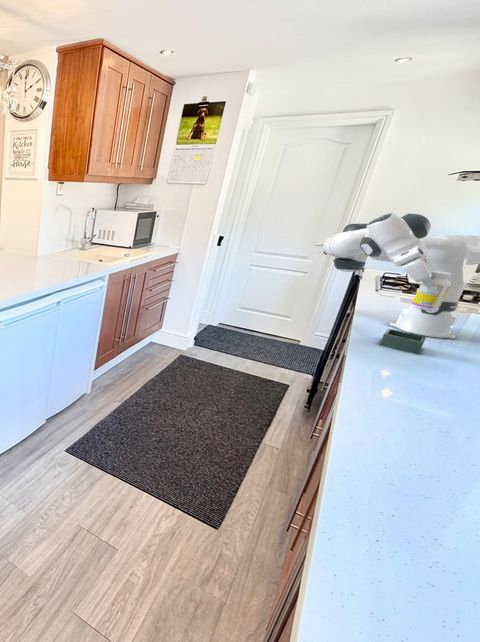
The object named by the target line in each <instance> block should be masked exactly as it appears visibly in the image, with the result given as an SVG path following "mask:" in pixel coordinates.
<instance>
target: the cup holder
mask: <svg viewBox="0 0 480 642" xmlns="http://www.w3.org/2000/svg"><path fill="white" fill-rule="evenodd" d="M426 339H427V336H424V335H419V334H415V333H411V332H407V331H403V330H398V329H397V330H396V329H392V328H387V329H386V330H385V332H384V333H383V335H382V337H381V340H380V342H379V344H378V345H379V346H382V347H386V348H390V349H394V350H399V351H402V352H406V353H409V354H415V355H419V353H420V351H421V349H422V347H423V345H424V343H425V340H426Z"/></svg>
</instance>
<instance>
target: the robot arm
mask: <svg viewBox="0 0 480 642" xmlns="http://www.w3.org/2000/svg"><path fill="white" fill-rule="evenodd" d="M431 226H432V225H431V222H430V220H429V218H427V217H426V216H424V215H422V214H418V213H406V214H404V215H403V216H401V217H399V216H398V215H397V214H396V213H386V214H383V215H381V216H379V217H375V218H374V219H373V220H371V221H369V222H364V221H359V222H353V223H349V224H347V225H346V226H345V227H344V229H343V230H342V231H341V232H339V233H336V234H334V235H331V236H329V237H328V238H327V239H326V240H325V241H324V242H323V251H324V252H325V254H327V255H329V256H331V257H334V258H333V260H332V262H333V265H334V267H335V269H336V270H339V271H341V272H345V273H353V272H357V271H361V270H362V269H364V267H365V265H366V261H367V259H368V257H370V258H371V259H373V260H375V261H381V262H386V263H392V264H393V265H394V266H395V267H400V268H401V269H402V270H403V271H404V272H405V273H406V274H407V275H408V276H409V277H410V278H411V279H412V280H413V281H415V282H416V283H419V284H420V283H421V282H423V283H424V284H425V285H426V286H427V287H428V288H429V289H430V290H431V291H435V290H438V288H439V287H438V286H437V285H436V284H435V283H434V281H433V280H432V279H431V277H432V275H433V273H432V271H441V272H447V273H451V276H450V277H449V278H448V281H450V283H451V285H450V287H449V289H448V291H447V293H446V295H445V297H444V299H443V302H442V304H441V306H440V308H439V309H438V310H437V311H429V310H422V309H418V308H414V307H412V306H411V304H410V305H408V306H406V307H404V308H402V310H401V313H400V315H399V316H398V319H397V320H394V321H390V322H389V324H388V326H390V327H393V328H397V329H398V330H400V331H403V332H407V333H411V334H416V335H421V336H425V337H431V338H441V339H453V340H455V339H456V334H454V333H453V332H452V329H453V328H454V325H455V323H456V322H457V319H458V317H457V316H456V314H455V313H454V312H455V311H456V310H457V308H458V305H459V300H460V298H461V296H462V294H463V292H464V290H465V288H466V286H467V284H468V283H467V280H466V279H465V275H464V273H465V267H466V266H475V265H479V264H480V235H467V234H466V235H465V234H446V235H428V234H429V232H430V229H431ZM414 298H415V296H414V297H413V298H412V301H411V303H412V302H413V300H414Z"/></svg>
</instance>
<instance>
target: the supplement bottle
mask: <svg viewBox="0 0 480 642" xmlns="http://www.w3.org/2000/svg"><path fill="white" fill-rule="evenodd" d="M432 273H433V275H432V277H431V279H432V280H433V281H434V283H435V284H436V285H437V286H438V287H439V288H438V290H435V291H431V290H430V289H429V288H428V287H427V286H426V285H425V284H424V283H423V282H420V285H419V287H418V289H417V292H416V293H415V296H414V297H415V298H414V297H413V299H414V300H413V299H412V301H413V302H412V301H411V304H410V305H411V306H412V307H414V308H418V309H422V310H429V311H437V310H438V309H439V308H440V306H441V304H442V302H443V299H444V297H445V295H446V293H447V291H448V289H449V287H450V285H451V283H450V281H448V278H449V277H450V276H451V273H447V272H441V271H432Z"/></svg>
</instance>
